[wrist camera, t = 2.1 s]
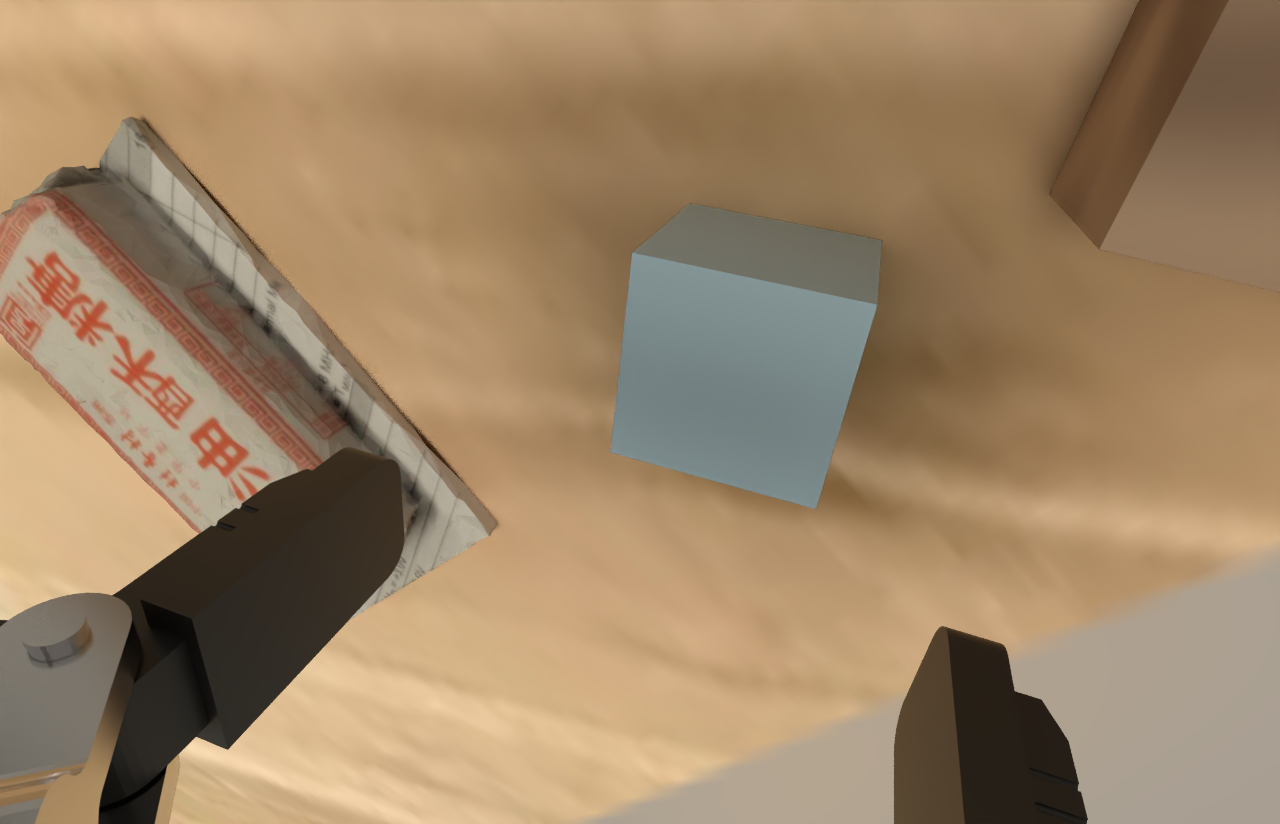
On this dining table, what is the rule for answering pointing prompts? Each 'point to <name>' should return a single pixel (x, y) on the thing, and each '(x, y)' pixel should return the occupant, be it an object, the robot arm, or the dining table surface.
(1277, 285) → the walnut block
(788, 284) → the blue block
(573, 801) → the dining table surface
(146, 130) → the packaged product
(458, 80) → the dining table surface
